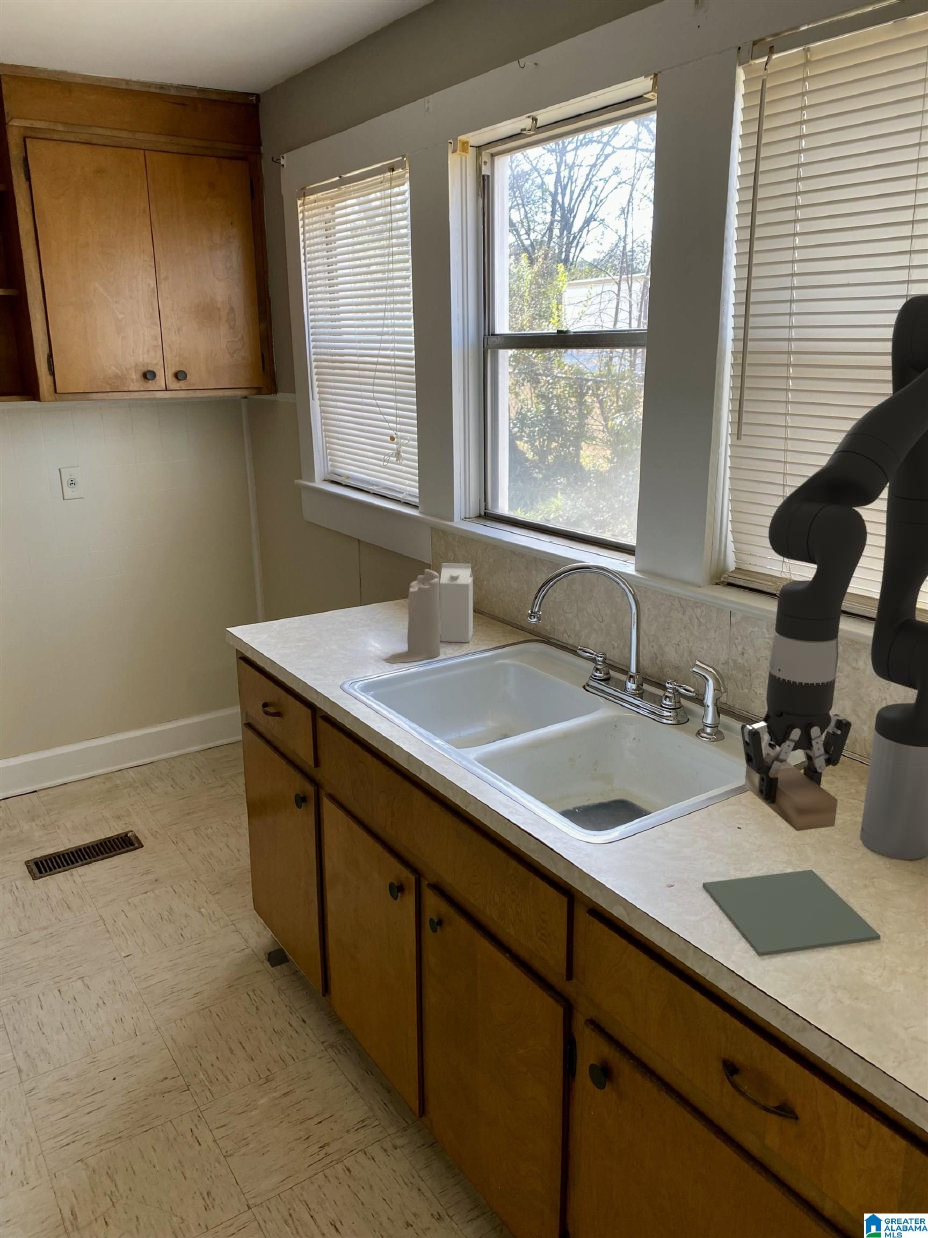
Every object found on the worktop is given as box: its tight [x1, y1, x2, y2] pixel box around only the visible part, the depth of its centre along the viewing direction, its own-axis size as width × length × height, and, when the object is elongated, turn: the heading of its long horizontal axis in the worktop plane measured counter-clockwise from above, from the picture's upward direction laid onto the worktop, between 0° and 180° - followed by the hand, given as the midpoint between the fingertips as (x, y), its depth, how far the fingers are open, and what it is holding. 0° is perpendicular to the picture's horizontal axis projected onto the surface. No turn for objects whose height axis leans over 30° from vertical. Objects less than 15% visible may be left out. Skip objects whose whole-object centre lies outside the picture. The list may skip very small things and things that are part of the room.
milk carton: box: [439, 562, 474, 643], centre depth 225 cm, size 7×7×19 cm
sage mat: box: [702, 869, 881, 957], centre depth 117 cm, size 16×15×1 cm
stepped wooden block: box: [744, 760, 838, 832], centre depth 113 cm, size 12×5×4 cm, turn 13°
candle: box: [382, 568, 441, 664], centre depth 211 cm, size 7×14×20 cm, turn 121°
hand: (788, 798), depth 114 cm, fingers closed on stepped wooden block, 5 cm apart
